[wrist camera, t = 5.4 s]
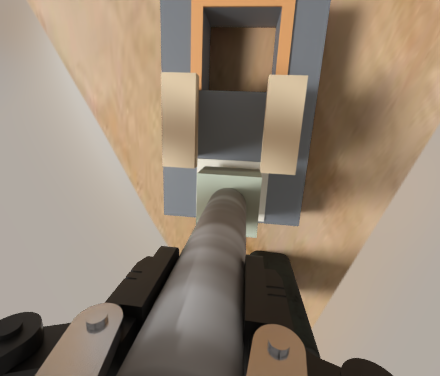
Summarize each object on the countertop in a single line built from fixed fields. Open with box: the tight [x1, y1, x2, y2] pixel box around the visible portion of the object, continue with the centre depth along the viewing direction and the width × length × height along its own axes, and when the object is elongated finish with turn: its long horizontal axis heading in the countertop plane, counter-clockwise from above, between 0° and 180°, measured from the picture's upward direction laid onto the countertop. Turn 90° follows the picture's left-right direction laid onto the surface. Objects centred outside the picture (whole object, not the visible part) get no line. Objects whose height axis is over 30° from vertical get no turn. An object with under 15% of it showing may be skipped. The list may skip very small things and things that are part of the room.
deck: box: [160, 0, 331, 226], centre depth 23 cm, size 20×14×4 cm
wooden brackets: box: [161, 72, 308, 175], centre depth 18 cm, size 6×9×7 cm, turn 87°
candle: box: [250, 251, 320, 358], centre depth 17 cm, size 5×5×25 cm
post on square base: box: [116, 166, 262, 376], centre depth 13 cm, size 5×5×18 cm
